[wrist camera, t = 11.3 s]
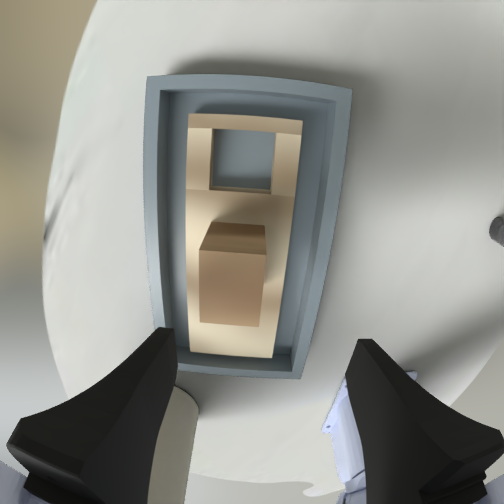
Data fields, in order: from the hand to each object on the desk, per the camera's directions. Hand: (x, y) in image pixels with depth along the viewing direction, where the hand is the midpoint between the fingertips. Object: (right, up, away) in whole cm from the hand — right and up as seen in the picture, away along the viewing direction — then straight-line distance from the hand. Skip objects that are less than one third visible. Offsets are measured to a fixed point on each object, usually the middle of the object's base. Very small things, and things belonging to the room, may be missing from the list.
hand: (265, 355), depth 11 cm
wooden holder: (-1, +4, +8) cm, 9 cm away
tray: (-1, +5, +8) cm, 9 cm away
